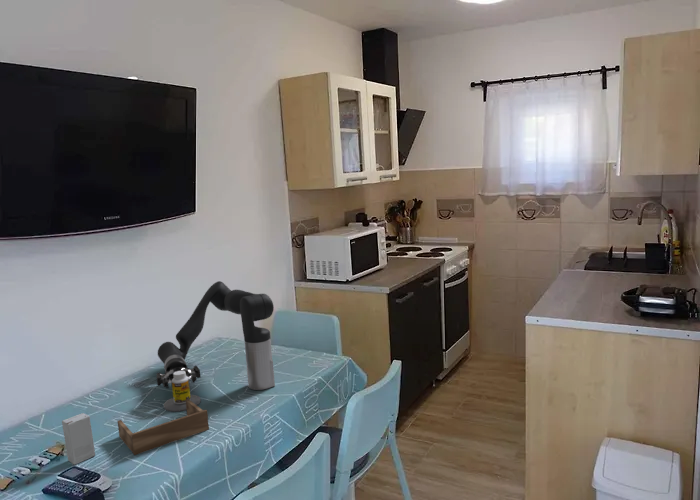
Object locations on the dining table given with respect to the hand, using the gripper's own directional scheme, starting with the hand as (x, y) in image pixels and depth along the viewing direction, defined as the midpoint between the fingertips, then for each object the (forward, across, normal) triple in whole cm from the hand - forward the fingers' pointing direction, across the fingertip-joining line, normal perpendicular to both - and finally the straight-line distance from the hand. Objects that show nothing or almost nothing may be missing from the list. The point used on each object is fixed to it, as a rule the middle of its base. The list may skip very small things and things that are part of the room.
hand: (180, 382), depth 185 cm
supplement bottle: (-2, 0, -8) cm, 8 cm away
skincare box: (+22, +30, -8) cm, 38 cm away
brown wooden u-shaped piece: (+17, +7, -8) cm, 20 cm away
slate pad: (-2, 0, -8) cm, 9 cm away
